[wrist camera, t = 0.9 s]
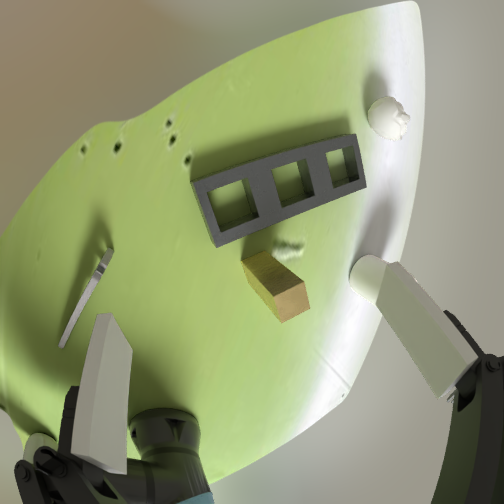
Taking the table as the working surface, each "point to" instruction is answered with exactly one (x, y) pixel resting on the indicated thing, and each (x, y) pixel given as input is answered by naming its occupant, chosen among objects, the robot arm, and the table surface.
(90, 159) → the table surface
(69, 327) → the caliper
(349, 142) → the grey slotted holder
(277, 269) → the wooden peg
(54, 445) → the glass bottle
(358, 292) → the beverage can
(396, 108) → the white rounded lump
